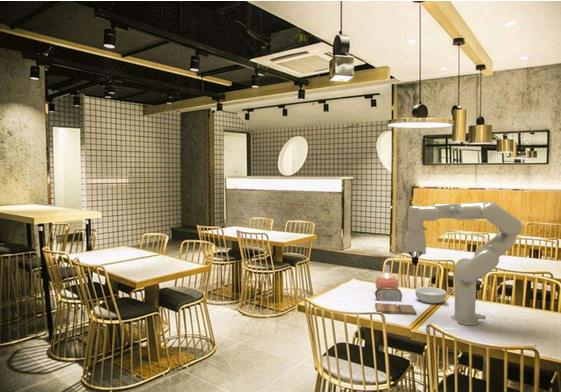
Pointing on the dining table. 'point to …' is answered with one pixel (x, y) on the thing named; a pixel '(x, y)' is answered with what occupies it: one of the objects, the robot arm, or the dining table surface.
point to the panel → (387, 308)
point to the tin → (388, 294)
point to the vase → (386, 279)
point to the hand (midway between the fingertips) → (414, 264)
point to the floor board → (406, 309)
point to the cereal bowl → (430, 294)
